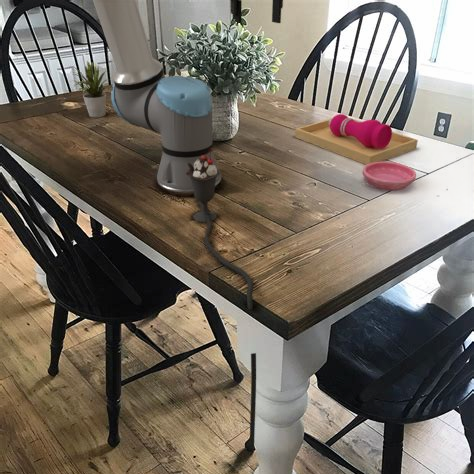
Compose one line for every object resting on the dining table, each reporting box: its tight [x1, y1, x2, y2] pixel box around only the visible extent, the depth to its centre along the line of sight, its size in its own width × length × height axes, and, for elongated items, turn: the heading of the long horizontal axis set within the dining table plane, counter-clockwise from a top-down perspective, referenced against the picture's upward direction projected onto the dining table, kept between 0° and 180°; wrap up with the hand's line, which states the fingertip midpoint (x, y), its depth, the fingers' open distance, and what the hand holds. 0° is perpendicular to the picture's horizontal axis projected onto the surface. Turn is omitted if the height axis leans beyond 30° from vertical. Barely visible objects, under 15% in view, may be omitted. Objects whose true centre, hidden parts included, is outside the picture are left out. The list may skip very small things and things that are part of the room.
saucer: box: [361, 161, 417, 192], centre depth 130 cm, size 12×12×3 cm
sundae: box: [186, 147, 221, 223], centre depth 112 cm, size 7×7×15 cm
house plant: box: [69, 60, 111, 118], centre depth 171 cm, size 14×14×16 cm
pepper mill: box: [329, 113, 393, 149], centre depth 152 cm, size 7×7×20 cm
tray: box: [294, 116, 419, 166], centre depth 153 cm, size 28×20×2 cm
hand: (257, 25), depth 145 cm, fingers open, 13 cm apart
